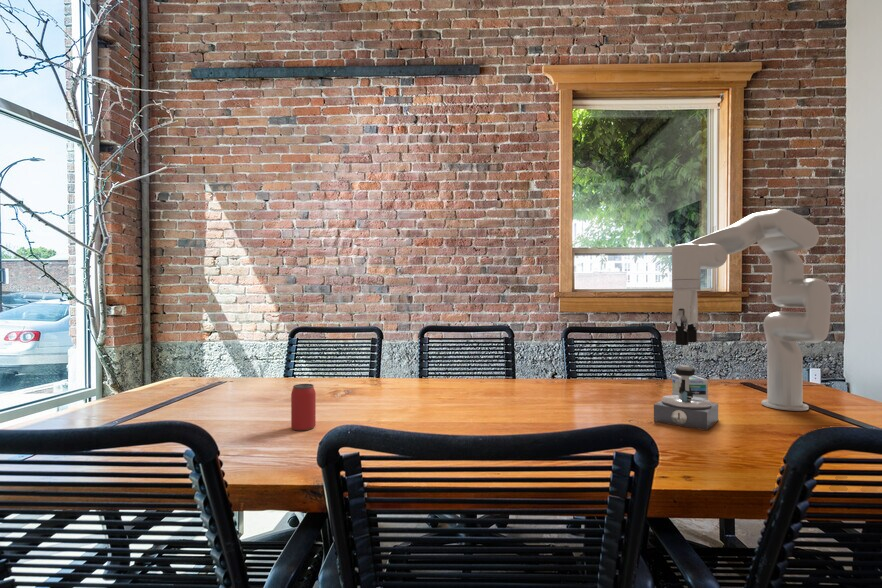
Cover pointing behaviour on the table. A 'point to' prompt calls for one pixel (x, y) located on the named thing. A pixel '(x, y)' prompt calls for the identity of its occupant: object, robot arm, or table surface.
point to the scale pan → (686, 402)
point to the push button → (685, 381)
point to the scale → (686, 416)
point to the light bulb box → (696, 383)
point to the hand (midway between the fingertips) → (686, 343)
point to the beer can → (303, 407)
